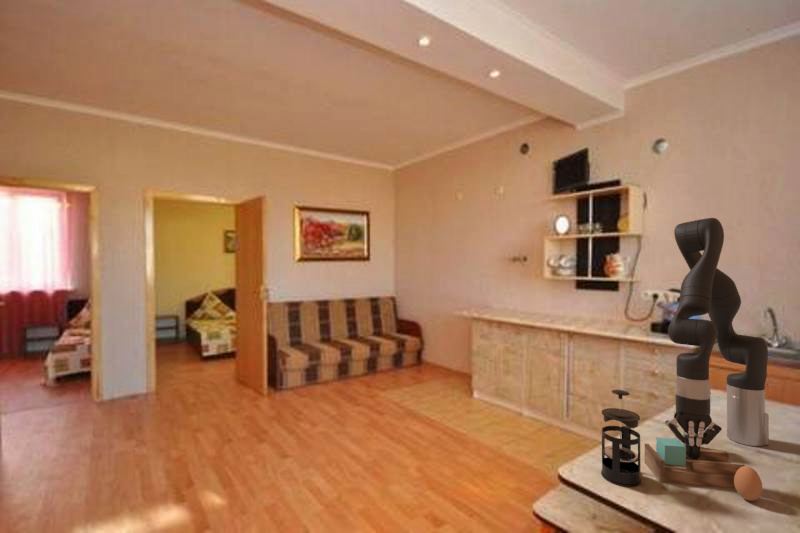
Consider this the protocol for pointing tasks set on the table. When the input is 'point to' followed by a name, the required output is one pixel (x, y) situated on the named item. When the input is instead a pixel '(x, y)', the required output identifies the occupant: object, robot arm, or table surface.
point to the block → (671, 451)
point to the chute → (695, 469)
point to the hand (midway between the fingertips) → (692, 458)
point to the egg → (748, 483)
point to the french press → (620, 455)
